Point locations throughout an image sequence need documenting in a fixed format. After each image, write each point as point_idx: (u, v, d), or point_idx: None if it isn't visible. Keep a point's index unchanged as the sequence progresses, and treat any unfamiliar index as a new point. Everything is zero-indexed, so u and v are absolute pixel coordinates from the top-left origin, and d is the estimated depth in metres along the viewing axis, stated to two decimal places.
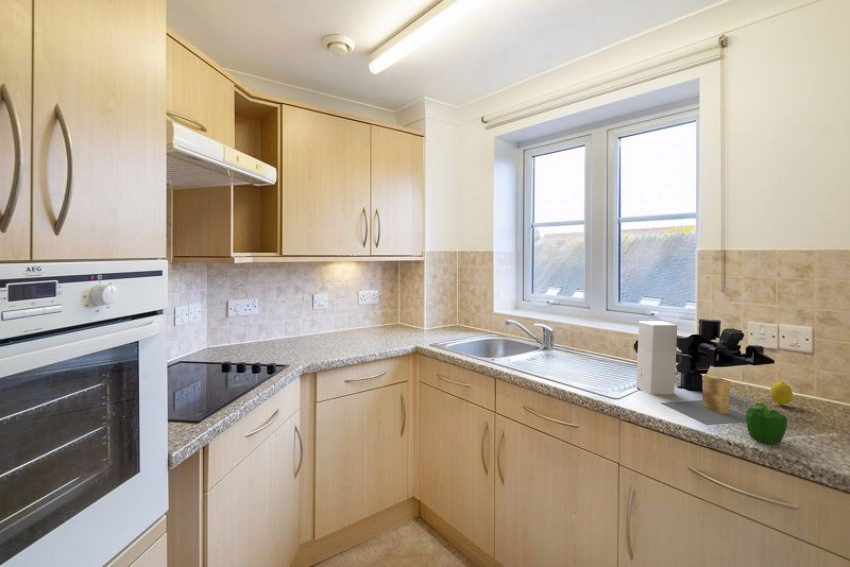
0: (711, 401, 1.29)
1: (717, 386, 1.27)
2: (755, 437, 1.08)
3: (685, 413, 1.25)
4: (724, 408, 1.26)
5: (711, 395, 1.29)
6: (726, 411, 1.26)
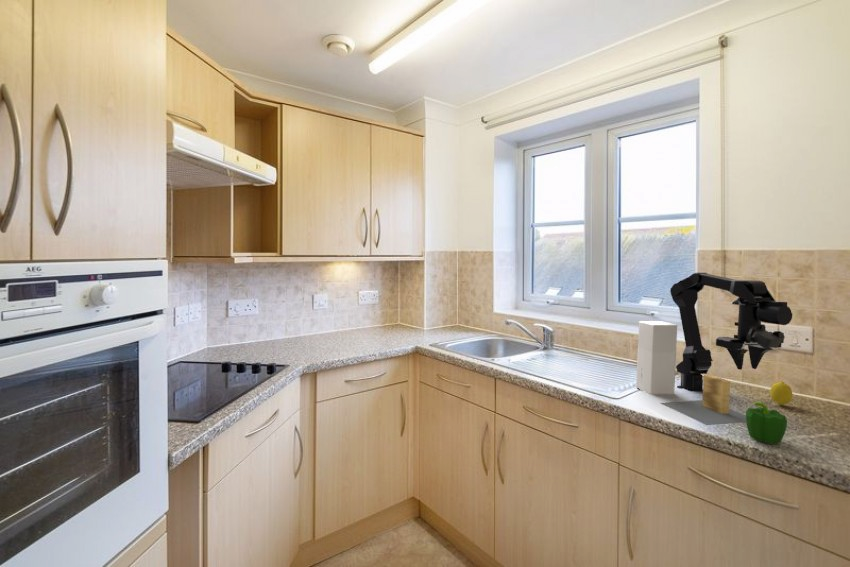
0: (711, 401, 1.29)
1: (717, 386, 1.27)
2: (755, 437, 1.08)
3: (685, 413, 1.25)
4: (724, 408, 1.26)
5: (711, 395, 1.29)
6: (726, 411, 1.26)
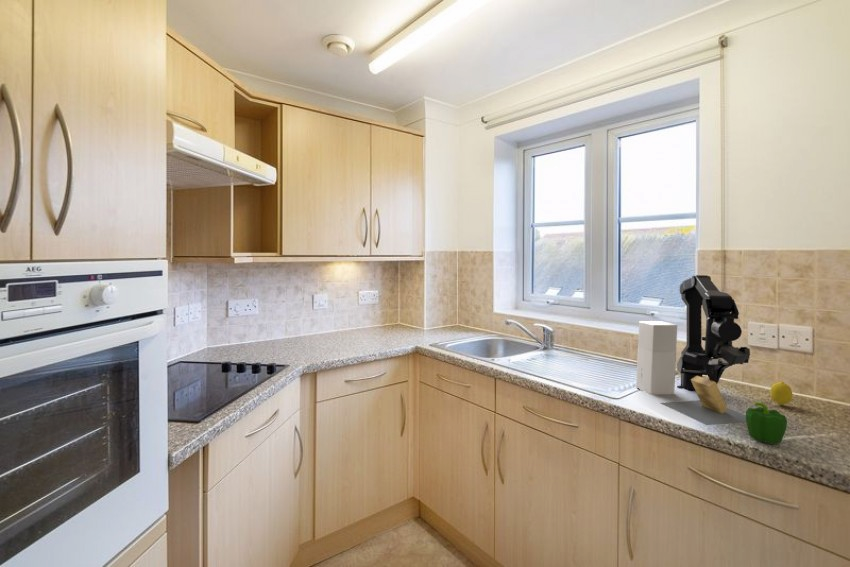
0: (708, 402, 1.29)
1: (706, 390, 1.26)
2: (755, 437, 1.08)
3: (685, 413, 1.25)
4: (721, 407, 1.25)
5: (705, 397, 1.29)
6: (725, 409, 1.26)
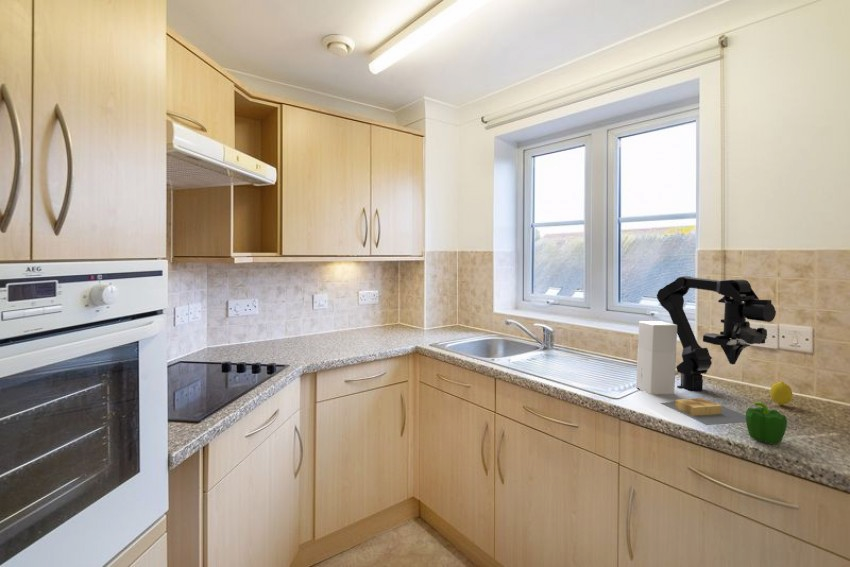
0: None
1: None
2: (755, 437, 1.08)
3: (685, 413, 1.25)
4: (716, 411, 1.25)
5: None
6: (719, 408, 1.25)
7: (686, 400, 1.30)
